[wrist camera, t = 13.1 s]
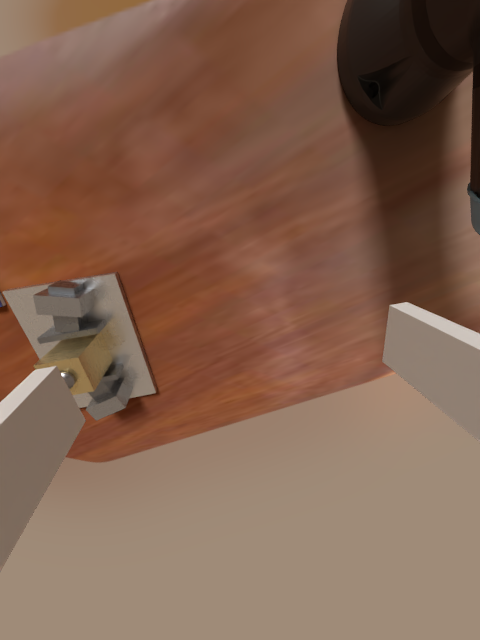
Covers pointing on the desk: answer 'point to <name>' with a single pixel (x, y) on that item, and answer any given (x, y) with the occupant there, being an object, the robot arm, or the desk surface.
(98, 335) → the block
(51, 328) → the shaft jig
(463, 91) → the desk surface
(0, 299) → the hard drive
